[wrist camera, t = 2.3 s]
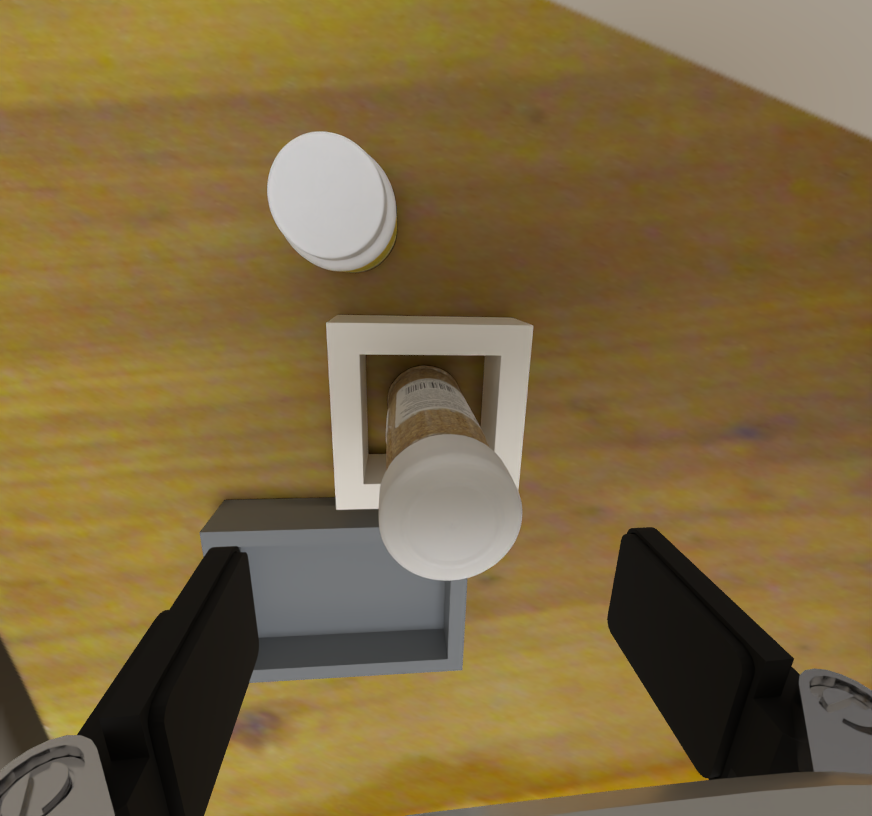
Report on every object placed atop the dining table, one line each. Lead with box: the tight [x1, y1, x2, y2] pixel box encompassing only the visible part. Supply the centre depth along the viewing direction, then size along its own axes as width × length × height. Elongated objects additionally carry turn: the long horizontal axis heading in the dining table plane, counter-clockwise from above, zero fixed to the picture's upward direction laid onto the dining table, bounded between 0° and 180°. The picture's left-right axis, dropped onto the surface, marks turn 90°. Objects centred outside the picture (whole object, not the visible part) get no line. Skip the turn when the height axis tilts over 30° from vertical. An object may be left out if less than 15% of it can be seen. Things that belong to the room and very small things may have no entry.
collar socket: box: [326, 315, 533, 510], centre depth 24 cm, size 10×10×4 cm
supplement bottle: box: [267, 132, 397, 273], centre depth 18 cm, size 5×5×8 cm
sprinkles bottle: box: [379, 365, 522, 581], centre depth 19 cm, size 5×5×14 cm
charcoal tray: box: [200, 498, 467, 683], centre depth 27 cm, size 15×11×4 cm
